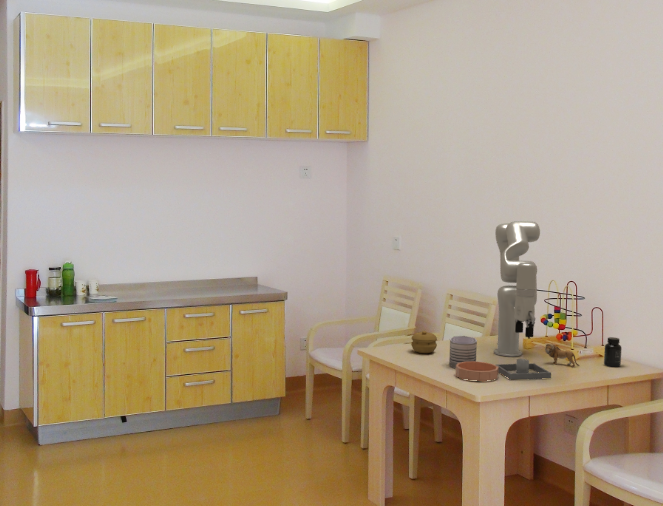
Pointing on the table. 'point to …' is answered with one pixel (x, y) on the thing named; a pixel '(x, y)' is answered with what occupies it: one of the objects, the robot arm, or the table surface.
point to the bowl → (477, 371)
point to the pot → (424, 342)
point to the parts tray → (540, 375)
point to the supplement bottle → (612, 353)
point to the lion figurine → (560, 354)
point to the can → (462, 350)
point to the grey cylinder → (522, 366)
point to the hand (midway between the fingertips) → (524, 334)
